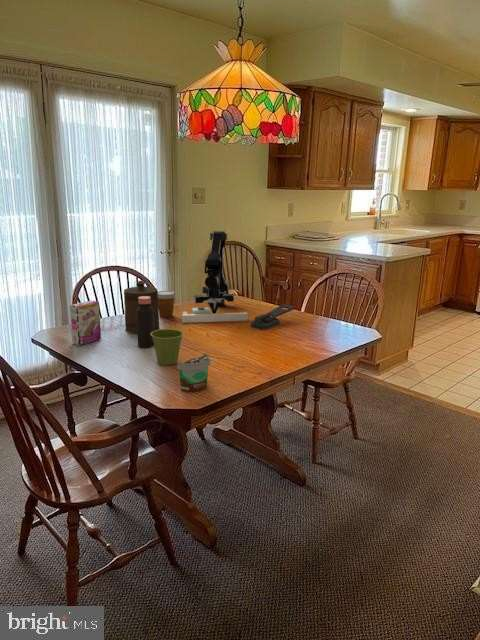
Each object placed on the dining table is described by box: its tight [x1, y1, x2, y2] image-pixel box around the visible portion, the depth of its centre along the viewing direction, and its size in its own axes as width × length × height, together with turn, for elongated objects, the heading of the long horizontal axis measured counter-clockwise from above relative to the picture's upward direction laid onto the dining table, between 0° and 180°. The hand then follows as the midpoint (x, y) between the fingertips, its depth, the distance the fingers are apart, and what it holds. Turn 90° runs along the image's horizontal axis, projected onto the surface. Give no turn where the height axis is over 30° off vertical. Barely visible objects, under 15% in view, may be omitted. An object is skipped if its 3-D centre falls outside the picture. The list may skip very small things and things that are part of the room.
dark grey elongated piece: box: [250, 304, 295, 331], centre depth 228 cm, size 9×7×25 cm
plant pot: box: [151, 328, 185, 366], centre depth 176 cm, size 12×12×11 cm
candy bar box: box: [69, 299, 102, 346], centre depth 196 cm, size 11×5×16 cm, turn 145°
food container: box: [176, 352, 212, 393], centre depth 154 cm, size 12×6×10 cm, turn 138°
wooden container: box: [123, 280, 160, 335], centre depth 213 cm, size 15×15×22 cm
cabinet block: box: [191, 306, 211, 314], centre depth 233 cm, size 6×8×6 cm
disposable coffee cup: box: [158, 290, 176, 319], centre depth 236 cm, size 10×10×12 cm
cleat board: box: [182, 311, 249, 324], centre depth 234 cm, size 9×31×4 cm, turn 100°
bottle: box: [136, 296, 155, 349], centre depth 192 cm, size 7×7×20 cm
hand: (213, 315), depth 234 cm, fingers closed
